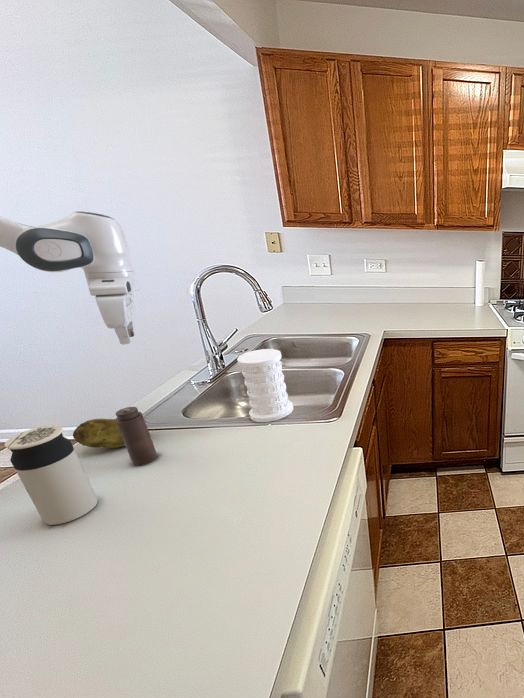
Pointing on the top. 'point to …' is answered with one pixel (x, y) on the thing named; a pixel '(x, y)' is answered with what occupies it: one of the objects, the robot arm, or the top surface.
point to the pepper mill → (135, 436)
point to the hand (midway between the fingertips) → (128, 340)
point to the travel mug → (52, 474)
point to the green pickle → (99, 434)
